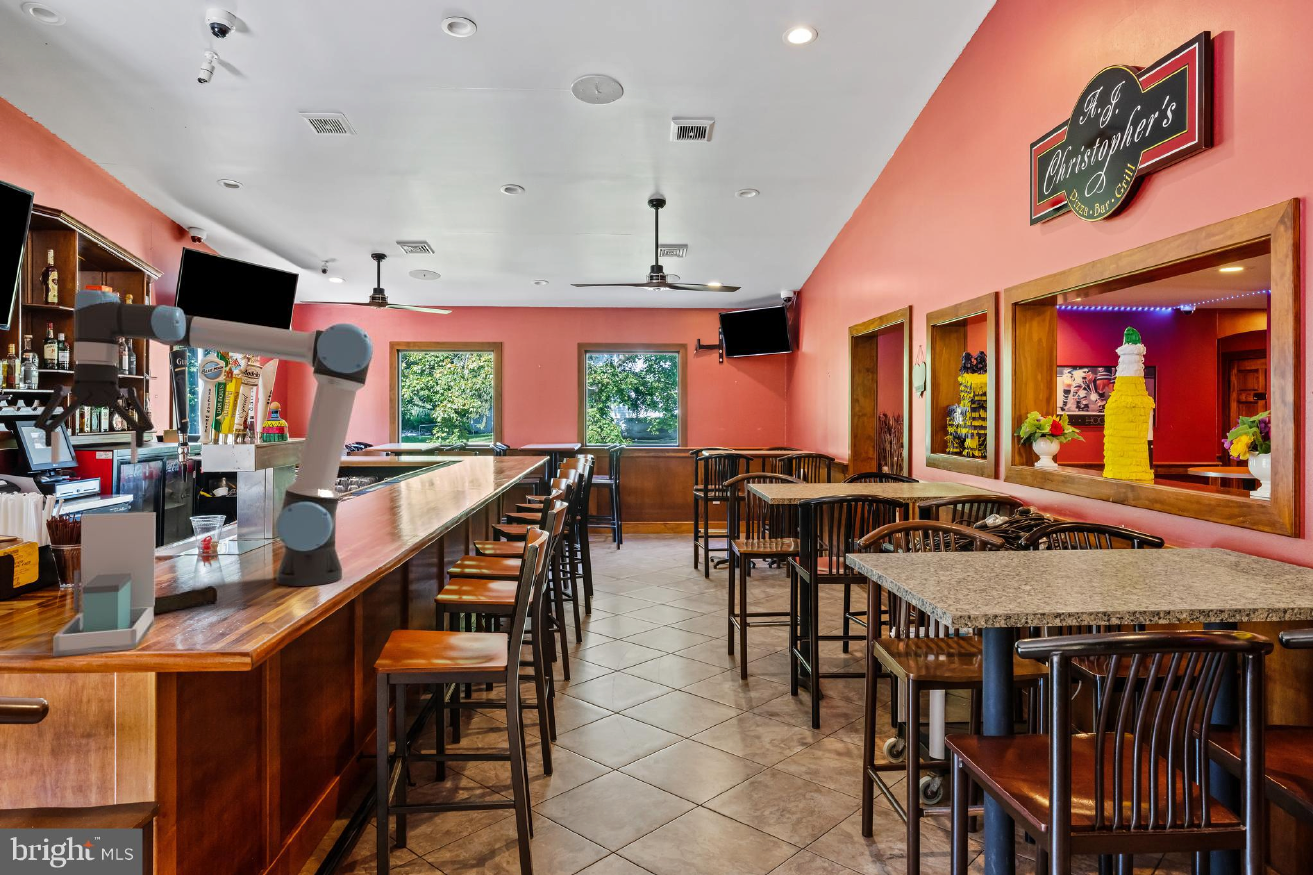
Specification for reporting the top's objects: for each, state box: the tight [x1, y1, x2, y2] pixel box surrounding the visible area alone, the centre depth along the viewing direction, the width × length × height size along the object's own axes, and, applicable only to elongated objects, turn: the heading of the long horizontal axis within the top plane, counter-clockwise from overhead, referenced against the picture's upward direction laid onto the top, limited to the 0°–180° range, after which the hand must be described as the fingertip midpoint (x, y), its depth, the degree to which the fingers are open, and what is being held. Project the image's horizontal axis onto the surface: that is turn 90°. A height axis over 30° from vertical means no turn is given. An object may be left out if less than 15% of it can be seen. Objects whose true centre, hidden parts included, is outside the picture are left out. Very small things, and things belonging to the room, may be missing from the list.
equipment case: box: [52, 511, 157, 658], centre depth 132 cm, size 12×18×22 cm
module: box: [83, 573, 131, 633], centre depth 131 cm, size 5×10×10 cm, turn 27°
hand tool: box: [154, 585, 218, 615], centre depth 150 cm, size 19×4×5 cm, turn 149°
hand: (95, 462), depth 153 cm, fingers open, 13 cm apart
